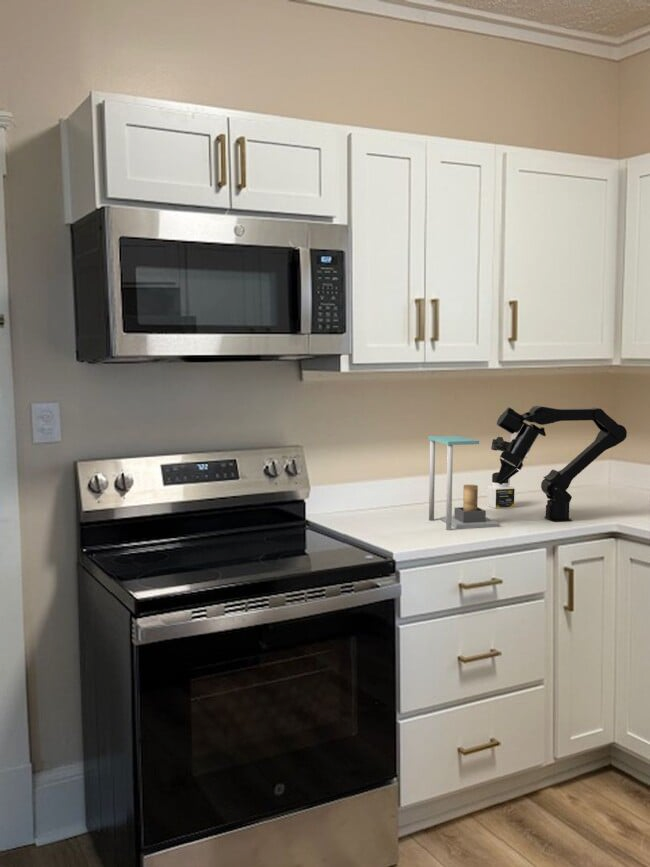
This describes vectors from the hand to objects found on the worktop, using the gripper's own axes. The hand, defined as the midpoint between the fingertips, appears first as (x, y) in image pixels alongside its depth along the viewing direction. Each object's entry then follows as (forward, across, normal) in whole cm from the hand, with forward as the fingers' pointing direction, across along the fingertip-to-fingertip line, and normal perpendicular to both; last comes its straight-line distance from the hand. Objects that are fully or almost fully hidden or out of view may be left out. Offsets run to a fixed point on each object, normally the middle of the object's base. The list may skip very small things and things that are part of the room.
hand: (498, 483), depth 278 cm
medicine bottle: (+7, -27, +2) cm, 28 cm away
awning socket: (+16, +6, -2) cm, 18 cm away
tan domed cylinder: (+15, +5, -1) cm, 15 cm away
